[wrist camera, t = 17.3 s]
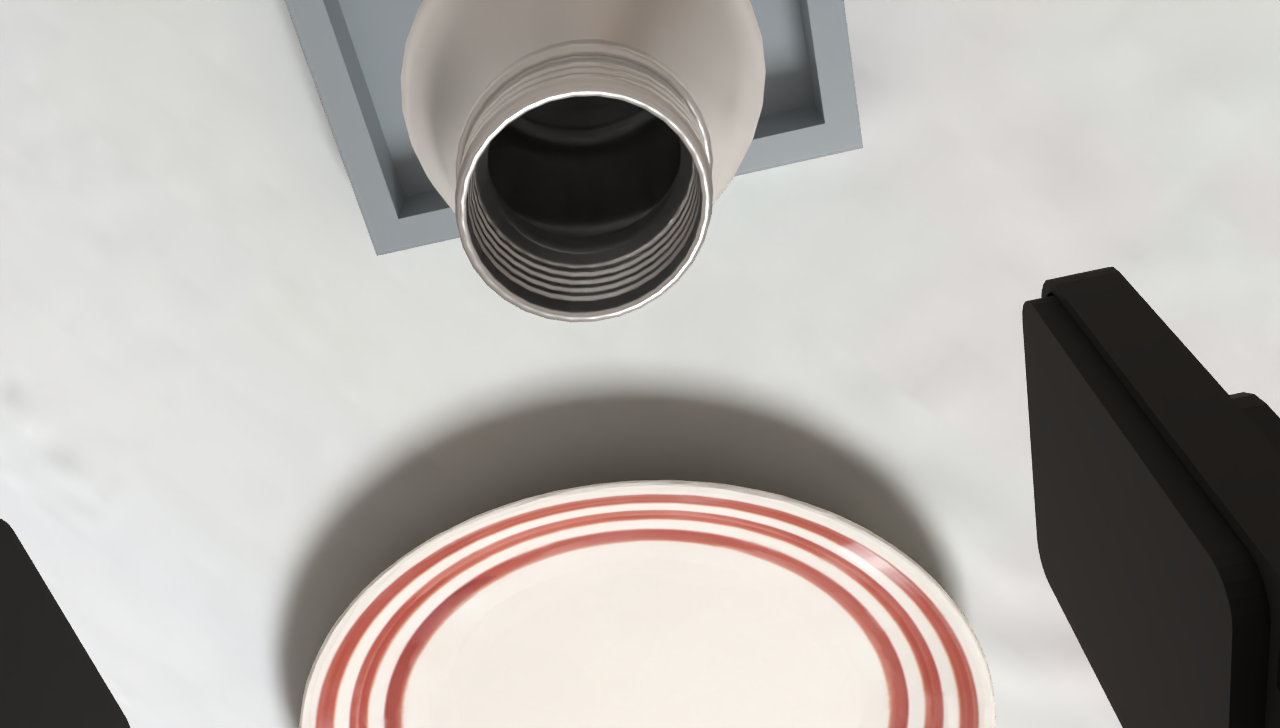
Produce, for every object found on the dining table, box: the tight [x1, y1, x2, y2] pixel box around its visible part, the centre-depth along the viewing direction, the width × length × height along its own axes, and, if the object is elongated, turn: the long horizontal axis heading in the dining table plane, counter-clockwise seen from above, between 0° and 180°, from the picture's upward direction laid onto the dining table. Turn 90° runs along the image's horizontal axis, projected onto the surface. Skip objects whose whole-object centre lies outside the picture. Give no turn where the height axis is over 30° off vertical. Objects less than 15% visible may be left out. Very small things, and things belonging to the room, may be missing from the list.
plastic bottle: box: [401, 0, 766, 322], centre depth 26 cm, size 6×7×20 cm
